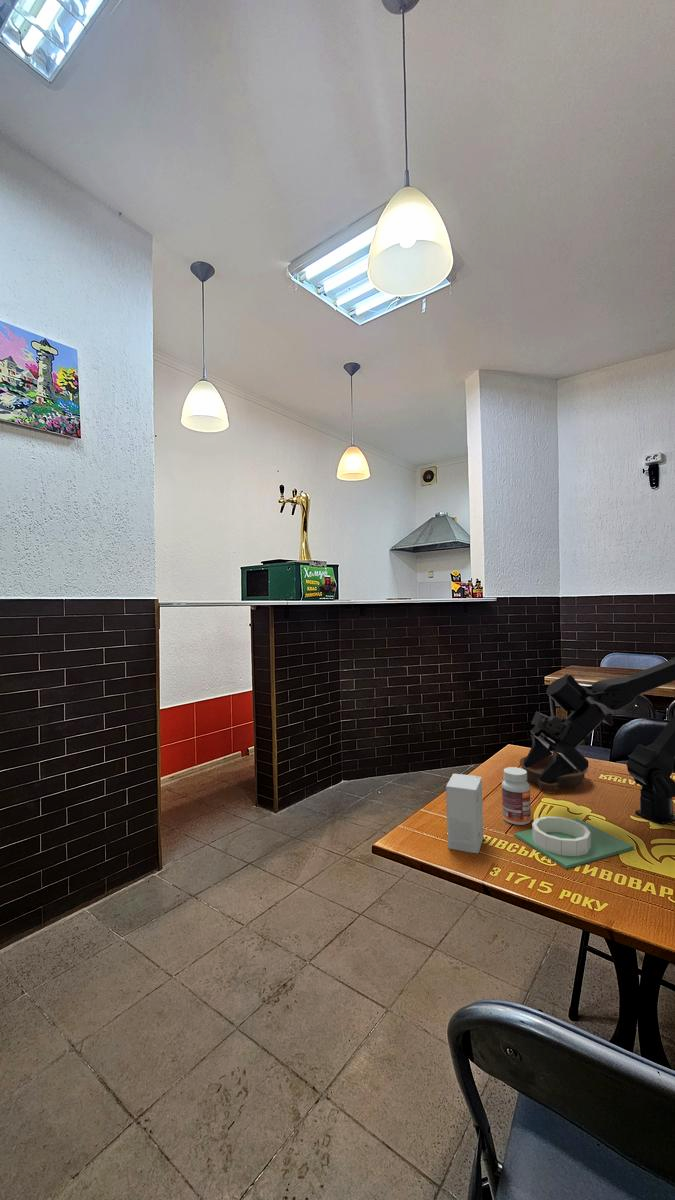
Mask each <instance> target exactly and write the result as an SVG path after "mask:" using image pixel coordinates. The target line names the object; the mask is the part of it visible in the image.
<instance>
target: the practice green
mask: <svg viewBox="0 0 675 1200" xmlns="http://www.w3.org/2000/svg"><path fill="white" fill-rule="evenodd" d="M531 827H532V828H530V829H527V830H522V831H517V832H514V833H513V837H515V838H516V839H518V840H519V841H521V842H523V843H524V844H526V845H528V846H529V847H530V848H532V849H534V850H535V851H537V852H538V853H540V854H541V855H544V856H545V857H546V858H548V859H550V860H552V861H553V862H555V863H556V864H557V865H559V866H561V867H562V868H564V869H565V870H568V869H570V868H574V867H577V866H582V865H585V864H588V863H592V862H594V861H598V860H603V859H604V858H608V857H612V856H615V855H618V854H623V853H626V852H628V851H634V849H635V846H634V845H632V844H630V843H628V842H627V841H624V840H623V839H621V838H618V837H616V836H614V835H612V834H610V833H608V832H606V831H604V830H602V829H600V828H598V827H596V826H594V825H592V824H590V823H588V822H586V821H584V820H582V819H580V818H578V817H576V818H571V819H570V818H567V817H563V816H562V817H561V816H549V815H548V816H543V817H537V818H535V819H534V821H533V822H532V824H531Z"/></svg>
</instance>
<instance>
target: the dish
mask: <svg viewBox="0 0 675 1200" xmlns="http://www.w3.org/2000/svg"><path fill="white" fill-rule="evenodd" d="M527 756H528V755H527ZM527 756H524V757H521V758H520V759H519V765H520V766H521V767H522V768H521V769H524V770H526V771H527V780H529V782H532V783H533V784H536V785H538V786H539V787H540V788H541V789H543V790H545V791H555V790H557V789H558V790H566V789H573V788H577V787H579V786H580V785H581V784H582V783H583V781H584V778H585V774H586V773H587V772H588V769H589V767H588V768H587V769H586V770H585V771H584V772H583V773H582V772H580V771H579V770H577V769H576V770H577V771H578V773H572V774H568V775H564V776H560V777H557V778H554V779H551V780H548V781H545V782H541V781H540V780H539V777H540V775H541V774H542V772H543V771H544V770H545V768H546V767H547V766H548V765H549V763H550V762H551V761H552V759H553V754H552V755H550V756H548V757H547V758H545V759H543V760H541V761H539V762H538V763H536V764H534V765H532V766H530V767H528V768H526V767H525V766H524V765H523V764H524V762H525V760H526V758H527Z"/></svg>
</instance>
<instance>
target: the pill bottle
mask: <svg viewBox="0 0 675 1200" xmlns="http://www.w3.org/2000/svg"><path fill="white" fill-rule="evenodd" d="M501 792H502V793H501V797H502V798H501V800H502V817H503V820H504V821H505V822H507V823H509V824H511V825H512V824H513V825H516V826H517V825H519V826H524V825H527V824H529V823H531V822H532V821H531V820H532V816H531V815H532V811H531V786H530V783H529V782H528V778H527V771H526V770H524V769H523V768H520V767H515V766H511V767H509V766H508V767H505V768H504V769H503V780H502V781H501Z"/></svg>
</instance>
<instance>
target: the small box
mask: <svg viewBox="0 0 675 1200" xmlns="http://www.w3.org/2000/svg"><path fill="white" fill-rule="evenodd" d="M482 780H483V779H482V776H478V775H473V774H472V775H471V774H461V773H452V775H451V776H450V778H449V780H448V782H447V784H446V785H445V798H446V827H447V831H446V832H447V848H448V849H450V850H455V851H459V852H461V851H462V852H466V853H471V854H480V849H481V846H482V842H483V841H484V840H483V839H484V817H483V814H484V813H483V811H484V810H483V784H482V783H483V781H482Z"/></svg>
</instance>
